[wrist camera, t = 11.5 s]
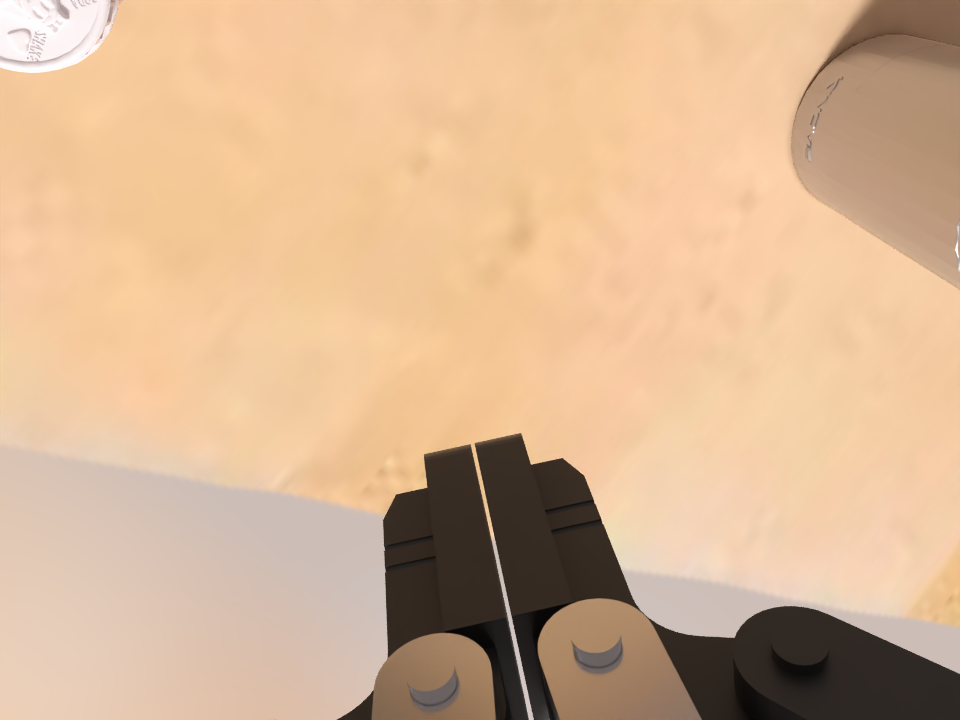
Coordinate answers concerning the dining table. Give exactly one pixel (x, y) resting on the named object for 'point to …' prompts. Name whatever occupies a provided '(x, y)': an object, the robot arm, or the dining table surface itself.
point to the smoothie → (52, 32)
